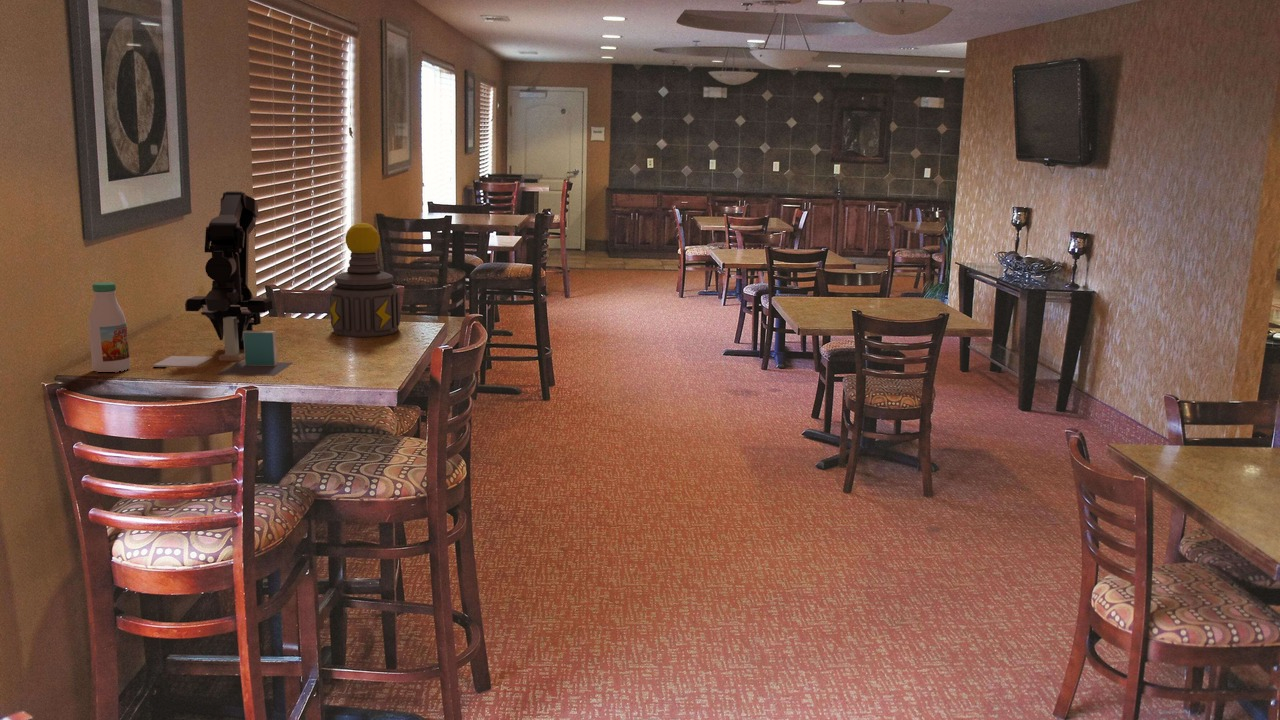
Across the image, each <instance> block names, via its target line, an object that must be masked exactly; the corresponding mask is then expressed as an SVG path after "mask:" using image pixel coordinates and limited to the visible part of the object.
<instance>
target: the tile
mask: <svg viewBox="0 0 1280 720" xmlns="http://www.w3.org/2000/svg"><path fill="white" fill-rule="evenodd" d="M276 331H277V330H253V331H250V330H245V331H243V339H244V349H243V353H244V355H245V358H244V362H245V365H253V366H276V365H277V362H278V349H277V333H276Z"/></svg>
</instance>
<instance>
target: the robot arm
mask: <svg viewBox="0 0 1280 720" xmlns="http://www.w3.org/2000/svg"><path fill="white" fill-rule="evenodd" d="M219 207H220V211H219V214H218V215H217V216H216V217H213V218H211V219H210V220H209V222H208V225H207V226H206V227H205V234H204V235H205V237H204V253H211V257H210V258H209V259H208V260H207V261H206V263H205V273H206V275H207V277H208V278H209V279H211V280H212V284H211V285H212V286H211V290H209V291H208V293H206V295H204V296H202V295H200V296H199V295H195V296H192V297H189V298H186V300H185V302H184V306H185V307H184V308H185V311H186V312H200V311H201V312H200V314H201V315H202V316H205V317H207V318H208V319H209V321H210V323H212V326H213V328H214V330H215V333H216V335H217V336H218V339H219V341H224V327H223V318H225V317H237V326H238V341H239V350H244V339H243V331H245V330H250V331H254V327H253V326H258V325H261V324H262V320H261V318H262V317H261V314H263V313H264V314H265V313H267V312H269V311H271V310H273V301H272V299H271V298H270V297H259V296H257V297H254V295H253V293H252V291H251V290H250V288H249V247H250V246H249V245H250V244H249V241H250V240H249V239H250V238H249V237H250V234H251V233H252V231H253V230H254V228H255V227H256V223H257V221H256V220H257V218H258V217H259V205H258V202H257V201H256V199H255V198H253V197H251V196H248V195H247V194H246V192H244V191H237V190H236V191H235V190H234V191H232V190H231V191H230V190H229V191H228V190H226V191H225V192H224V191H223V192H222V197H221V198H220V206H219Z"/></svg>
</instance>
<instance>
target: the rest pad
mask: <svg viewBox="0 0 1280 720" xmlns="http://www.w3.org/2000/svg"><path fill="white" fill-rule="evenodd" d="M213 358H214V356H198V355H197V356H196V355H194V356H191V355H189V356H188V355H187V356H186V355H171V356H168V357H166V358H164V359H162V360H161V361H158V362H156V363H154V364H153V365H152V368H153V367H168V368H169V367H193V368H194V367H199V366H200V365H202V364H204V363H205V362H207V361H210V360H211V359H213Z"/></svg>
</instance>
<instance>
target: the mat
mask: <svg viewBox="0 0 1280 720" xmlns="http://www.w3.org/2000/svg"><path fill="white" fill-rule="evenodd" d="M292 364H293V362H287V361H286V362H285V361H284V362H282V361H281V362H280V361H279V362H278V361H277V365H276V366H253V365H245V361H236V362H235V363H234V364H231V365H229V366H228V367H227V368H225V369H223V370H222V371H220V372H218V373H217V375H219V376H220V375H224V376H225V375H227V376H266V377H267V376H268V377H269V376H271V377H272V376H276V375H278V374H279V373H281V372H282V371H284V370H285V369H286V368H288V367H289V366H291V365H292Z"/></svg>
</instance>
